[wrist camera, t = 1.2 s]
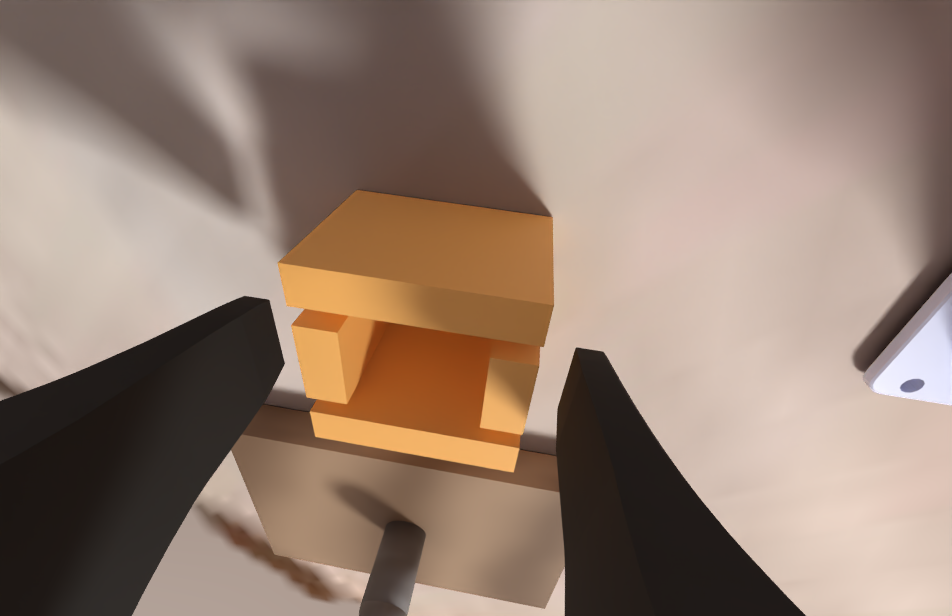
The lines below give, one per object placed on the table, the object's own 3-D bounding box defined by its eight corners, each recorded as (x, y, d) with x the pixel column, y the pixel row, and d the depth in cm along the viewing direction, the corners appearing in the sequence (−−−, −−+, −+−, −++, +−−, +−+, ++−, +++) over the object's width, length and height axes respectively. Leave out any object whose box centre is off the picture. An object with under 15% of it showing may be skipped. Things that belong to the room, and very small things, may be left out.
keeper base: (592, 462, 16) (608, 629, 12) (545, 575, 22) (543, 715, 18) (246, 401, 17) (142, 535, 13) (289, 525, 23) (227, 646, 19)
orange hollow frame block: (552, 217, 11) (553, 305, 8) (522, 364, 14) (513, 472, 11) (356, 190, 11) (277, 262, 8) (368, 339, 14) (315, 436, 11)
